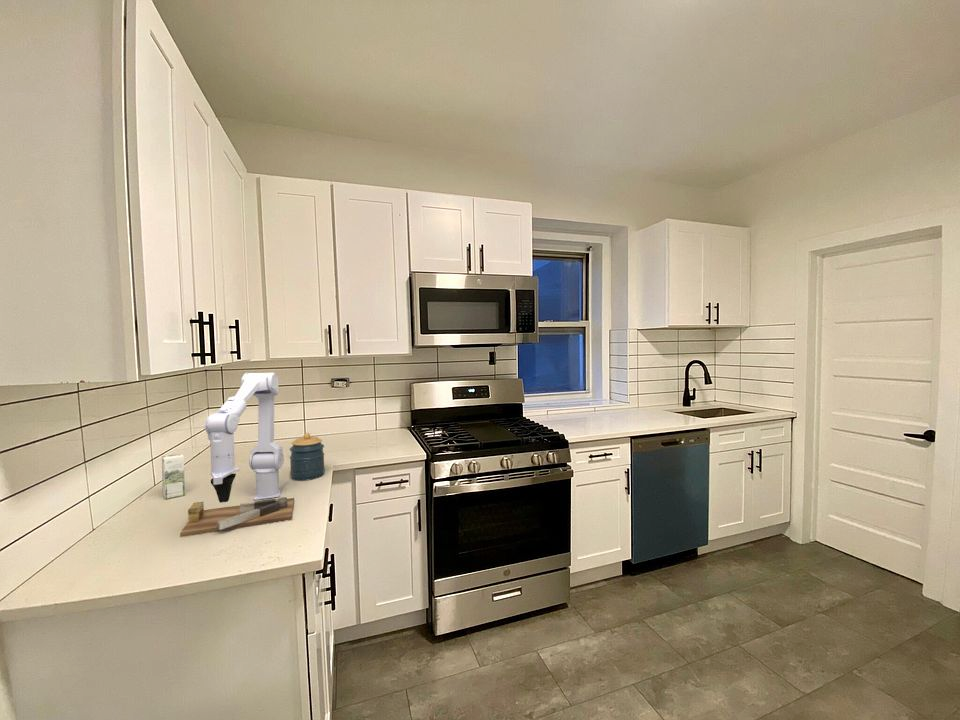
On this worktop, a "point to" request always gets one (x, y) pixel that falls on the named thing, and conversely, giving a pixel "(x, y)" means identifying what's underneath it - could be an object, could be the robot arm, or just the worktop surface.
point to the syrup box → (173, 476)
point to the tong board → (213, 515)
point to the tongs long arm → (248, 515)
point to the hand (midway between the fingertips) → (224, 501)
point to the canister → (307, 458)
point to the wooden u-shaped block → (195, 512)
